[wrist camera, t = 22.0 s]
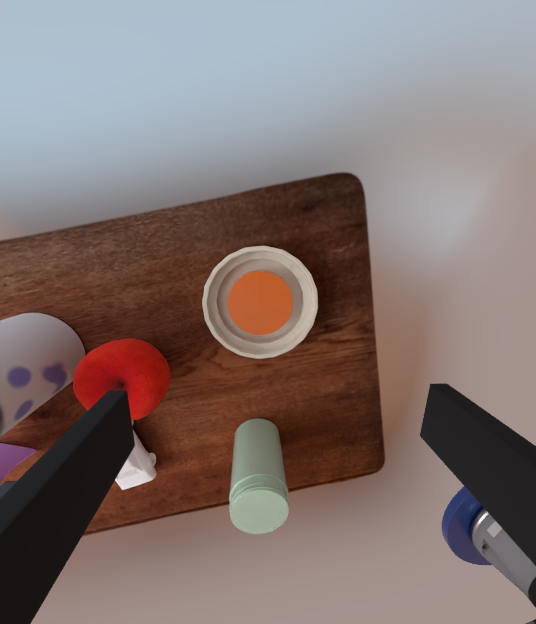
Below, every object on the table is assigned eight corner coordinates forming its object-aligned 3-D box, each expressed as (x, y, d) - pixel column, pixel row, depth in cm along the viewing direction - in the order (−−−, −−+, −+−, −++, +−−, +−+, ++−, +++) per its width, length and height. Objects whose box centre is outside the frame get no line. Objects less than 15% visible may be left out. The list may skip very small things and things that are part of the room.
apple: (192, 346, 32) (174, 378, 24) (162, 398, 34) (137, 443, 26) (125, 312, 30) (83, 335, 23) (97, 369, 32) (50, 408, 24)
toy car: (124, 400, 33) (110, 417, 30) (163, 466, 36) (155, 488, 33) (86, 413, 33) (69, 431, 30) (129, 478, 37) (117, 500, 33)
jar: (287, 429, 36) (302, 501, 26) (264, 461, 38) (270, 542, 27) (248, 411, 35) (247, 479, 25) (226, 445, 36) (216, 523, 26)
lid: (257, 255, 29) (257, 256, 27) (303, 297, 31) (306, 300, 29) (216, 303, 30) (213, 307, 28) (262, 341, 32) (263, 347, 30)
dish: (331, 281, 31) (339, 285, 28) (277, 364, 33) (280, 375, 30) (239, 224, 28) (238, 222, 25) (188, 318, 31) (182, 326, 28)
